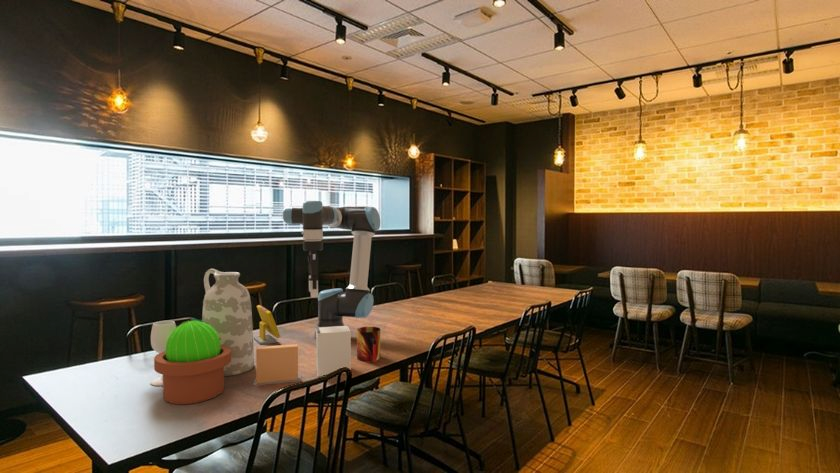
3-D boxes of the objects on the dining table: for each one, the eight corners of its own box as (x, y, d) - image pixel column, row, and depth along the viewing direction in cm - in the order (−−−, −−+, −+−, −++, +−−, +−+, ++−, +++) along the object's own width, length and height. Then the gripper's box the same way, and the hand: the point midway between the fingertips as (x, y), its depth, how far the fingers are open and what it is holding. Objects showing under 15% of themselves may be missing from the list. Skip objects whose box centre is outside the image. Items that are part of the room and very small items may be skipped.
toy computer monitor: (280, 344, 205) (280, 310, 205) (262, 347, 201) (262, 312, 200) (268, 334, 222) (267, 303, 221) (251, 337, 218) (251, 304, 217)
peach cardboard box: (256, 380, 160) (256, 346, 159) (297, 376, 164) (297, 344, 163) (256, 383, 157) (256, 349, 156) (298, 379, 161) (297, 346, 160)
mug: (374, 365, 177) (374, 335, 177) (352, 357, 187) (352, 329, 186) (392, 360, 184) (392, 331, 184) (369, 352, 194) (370, 325, 193)
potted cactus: (180, 414, 132) (179, 330, 131) (141, 398, 144) (140, 320, 143) (244, 390, 151) (244, 316, 150) (205, 377, 163) (204, 309, 161)
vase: (264, 364, 178) (263, 268, 176) (230, 380, 160) (229, 273, 159) (223, 358, 184) (222, 265, 183) (186, 373, 167) (184, 271, 165)
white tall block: (316, 368, 173) (316, 326, 172) (347, 366, 176) (347, 324, 176) (317, 376, 164) (317, 331, 164) (350, 373, 168) (350, 329, 167)
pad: (254, 379, 161) (254, 379, 161) (300, 375, 165) (300, 374, 165) (253, 385, 155) (253, 385, 155) (301, 381, 160) (301, 380, 160)
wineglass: (158, 377, 162) (157, 319, 161) (183, 377, 163) (182, 319, 162) (145, 386, 154) (144, 325, 153) (172, 385, 154) (171, 325, 153)
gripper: (301, 238, 186) (302, 289, 187) (304, 242, 162) (304, 300, 163) (320, 238, 188) (320, 288, 189) (325, 242, 164) (325, 299, 166)
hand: (313, 294), depth 176 cm, fingers open, 13 cm apart
